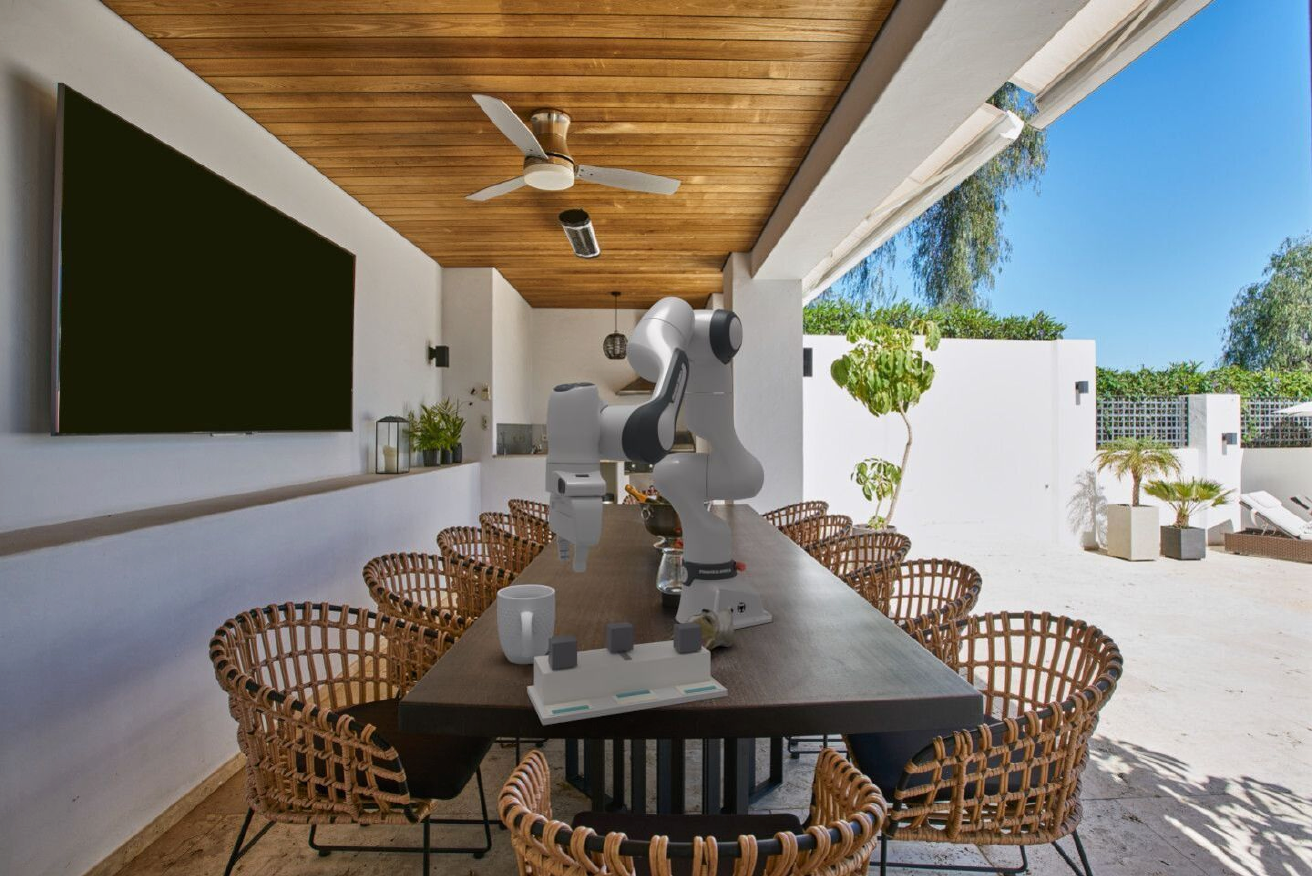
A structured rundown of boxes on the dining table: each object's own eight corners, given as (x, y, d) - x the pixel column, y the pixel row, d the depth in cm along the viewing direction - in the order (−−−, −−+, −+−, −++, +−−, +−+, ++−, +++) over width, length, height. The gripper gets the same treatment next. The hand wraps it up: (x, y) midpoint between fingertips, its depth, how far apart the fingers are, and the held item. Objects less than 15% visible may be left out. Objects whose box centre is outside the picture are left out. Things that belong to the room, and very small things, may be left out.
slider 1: (572, 659, 107) (572, 635, 107) (577, 665, 104) (577, 641, 104) (548, 662, 105) (548, 638, 105) (552, 669, 102) (552, 643, 102)
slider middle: (627, 644, 115) (628, 621, 114) (633, 649, 112) (633, 626, 112) (606, 647, 113) (606, 624, 113) (611, 652, 110) (611, 629, 110)
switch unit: (694, 668, 120) (695, 636, 120) (727, 695, 108) (727, 659, 108) (527, 692, 109) (527, 656, 109) (542, 725, 97) (543, 684, 97)
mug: (558, 674, 117) (559, 602, 117) (495, 679, 115) (496, 605, 114) (552, 647, 132) (553, 583, 131) (496, 651, 129) (497, 585, 129)
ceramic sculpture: (748, 607, 131) (691, 624, 122) (750, 649, 131) (693, 669, 122) (713, 596, 139) (657, 611, 130) (714, 636, 140) (659, 654, 131)
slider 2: (694, 644, 115) (694, 622, 115) (701, 650, 112) (701, 626, 112) (673, 647, 113) (673, 624, 113) (680, 652, 110) (680, 629, 110)
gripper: (540, 478, 114) (539, 556, 114) (569, 485, 95) (567, 579, 95) (575, 477, 117) (574, 554, 116) (610, 484, 98) (608, 577, 97)
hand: (571, 566), depth 106 cm, fingers open, 8 cm apart
